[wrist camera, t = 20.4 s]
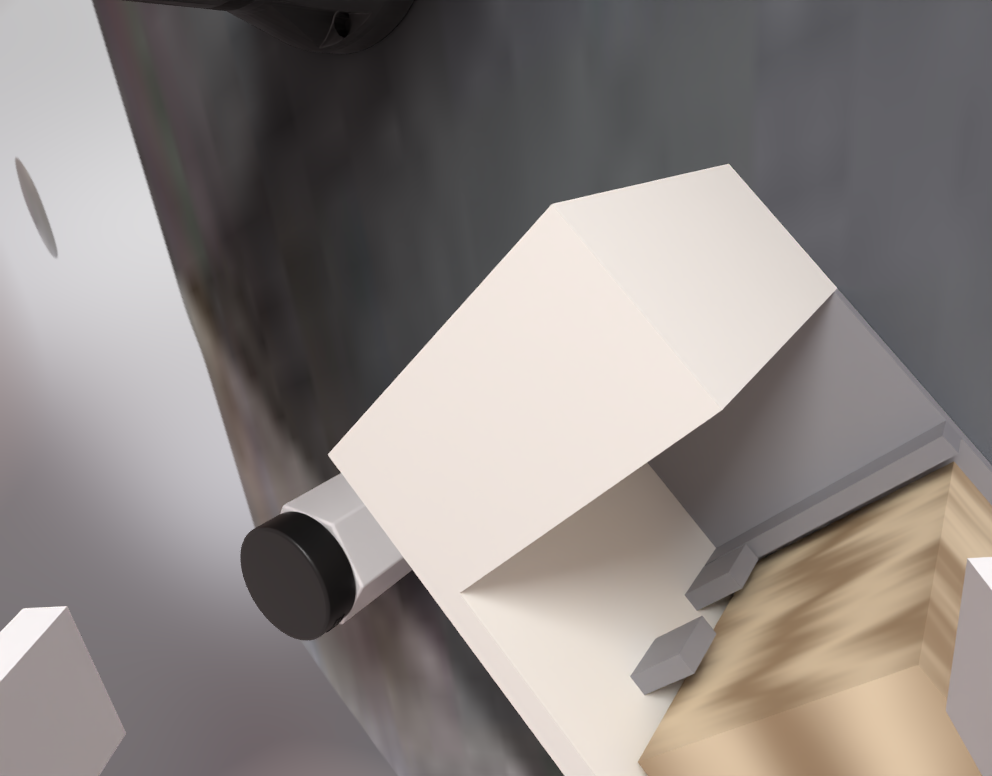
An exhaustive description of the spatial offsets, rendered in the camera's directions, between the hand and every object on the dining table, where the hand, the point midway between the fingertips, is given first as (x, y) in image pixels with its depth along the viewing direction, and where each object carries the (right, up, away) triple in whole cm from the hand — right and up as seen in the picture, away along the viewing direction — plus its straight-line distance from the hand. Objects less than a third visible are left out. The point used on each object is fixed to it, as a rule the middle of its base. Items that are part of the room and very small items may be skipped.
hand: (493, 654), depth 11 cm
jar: (-7, -5, +47) cm, 47 cm away
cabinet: (+14, +2, +29) cm, 32 cm away
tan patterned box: (+19, -4, +27) cm, 33 cm away
